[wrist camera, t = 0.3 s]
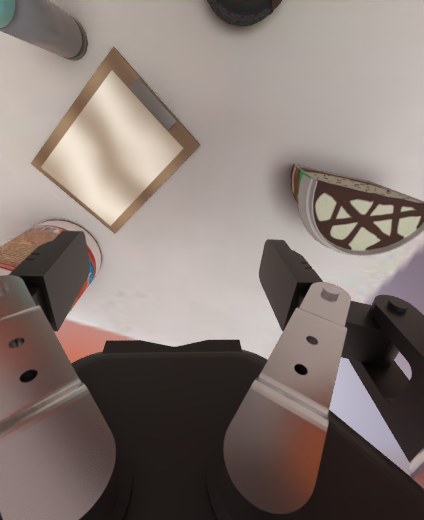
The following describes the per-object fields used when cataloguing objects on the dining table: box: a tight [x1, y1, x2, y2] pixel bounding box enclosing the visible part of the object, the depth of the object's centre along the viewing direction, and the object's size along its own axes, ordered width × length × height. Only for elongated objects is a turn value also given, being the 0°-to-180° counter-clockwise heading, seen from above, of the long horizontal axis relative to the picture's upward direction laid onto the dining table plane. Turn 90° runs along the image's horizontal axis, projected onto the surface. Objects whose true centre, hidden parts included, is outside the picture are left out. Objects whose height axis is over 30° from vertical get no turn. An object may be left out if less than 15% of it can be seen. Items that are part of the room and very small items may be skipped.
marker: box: [0, 0, 87, 60], centre depth 19 cm, size 3×3×12 cm
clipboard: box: [31, 47, 200, 233], centre depth 29 cm, size 15×12×1 cm
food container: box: [291, 165, 424, 256], centre depth 27 cm, size 12×6×10 cm, turn 78°
